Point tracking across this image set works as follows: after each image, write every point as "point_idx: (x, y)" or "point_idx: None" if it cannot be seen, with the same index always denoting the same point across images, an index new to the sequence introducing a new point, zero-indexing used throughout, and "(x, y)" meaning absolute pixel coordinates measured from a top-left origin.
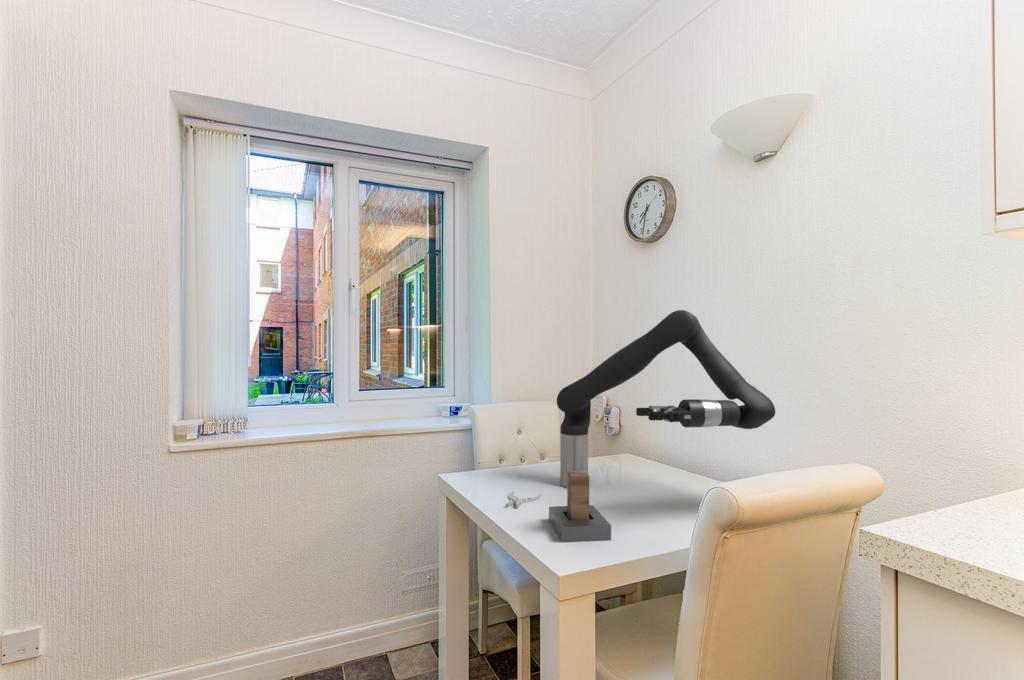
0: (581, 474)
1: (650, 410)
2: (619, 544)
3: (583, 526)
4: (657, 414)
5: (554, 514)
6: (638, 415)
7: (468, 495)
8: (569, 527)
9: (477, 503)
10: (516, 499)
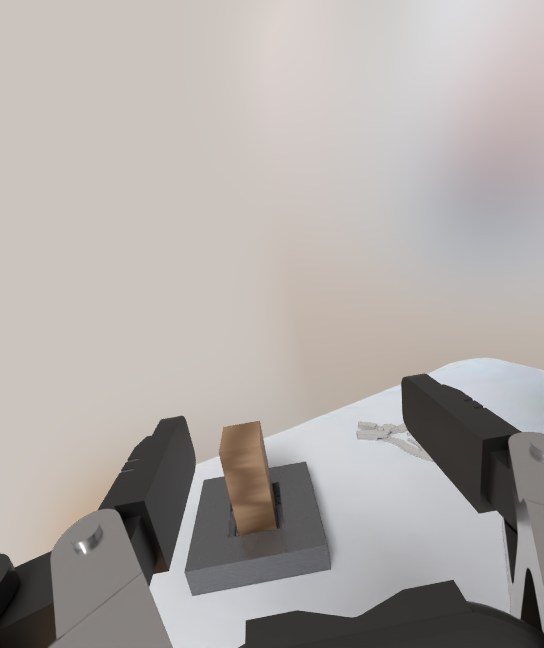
0: (229, 440)
1: (499, 471)
2: (164, 614)
3: (197, 513)
4: (126, 471)
5: None
6: (407, 427)
7: (398, 388)
8: (201, 492)
9: (366, 400)
10: (384, 429)
